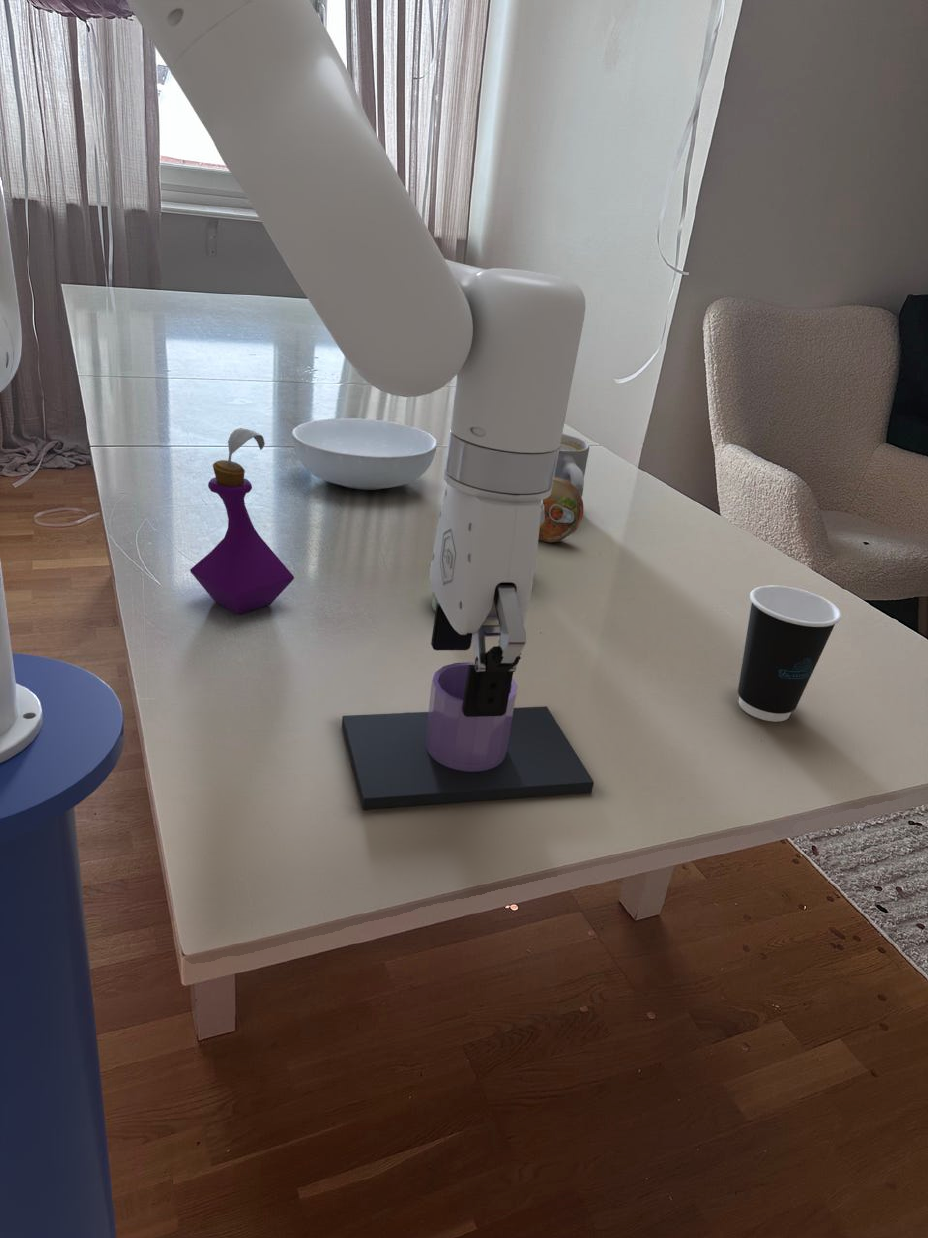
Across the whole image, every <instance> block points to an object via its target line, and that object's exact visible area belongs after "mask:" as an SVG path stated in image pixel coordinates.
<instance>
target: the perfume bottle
mask: <svg viewBox="0 0 928 1238" xmlns="http://www.w3.org/2000/svg"><path fill="white" fill-rule="evenodd" d="M251 439H254V440H255V441H256V443H257V445H258V448H259V451H262V450H263V449H264V447H265V445H266V444H265V440H264V436H263V435H262V434H260V433H259V432H257V431H256V430H253V429H248V428H244V427H243V428H242V427H238V428H236V429H234V430H233V431H232V432H231V433H230V435H229V438H228V440H227V446H228V459H227V460H225V459H220V460H217V461H215V462H214V463H212V468H213V473H214V477H212V478H211V479H210V480H209V481H208V484H207V487H208V489H209V490H210V492H211V493H214V494H217V495H218V496H219V497H220V499H221V501H222V502H223V504H224V507H225V510H226V514H227V519H228V520H227V521H228V522H227V529H226V533H225V535H224V537H223V538H222V539H221V540H220V541H219V542H218V543H217V545H216V546H214V548H213V549H212V550H211V551H210V552H209V553H208V554H207V555H205V556H204V557H203V558H202V559H201V560H200V561H198V562H197V563H196V564H195V565H193V566H192V567H191V568H190V569H189V571H190V573H191V574H192V576H193V577H194V578H195V579H196V580H197V582H198V583H199V584H200V586H201V587H202V588H203V589H204V590H205V592H206V593H207V594H208V595H209V596H210V598H211V599H212V600H213V601H214V602H215V603H216V604H218V605H221V606H222V607H224V608H226V609H227V610H229V611H231V612H233V613H234V614H235V615H242V614H245V613H248V612H251V611H254V610H258V609H260V608H264V607H268V606H270V605H271V604H272V603H274V601H275V600H276V599H277V598H278V597H279V596H280V595H281V594H282V593H283V592H284V591H285V589H286V588H287V587H288V586H289V585H290V584H291V583H292V582H293V581H294V579H295V576H294V575H293V573H292V572H291V571H290V570H289V569H288V568H287V567H286V565H285V564H284V563H283V562H282V560H280V558H279V557H278V556H277V555H276V554H275V552H274V551H273V550H272V549H271V547H270V546H269V545H268V544H267V542H265V540H264V539H263V538H262V537H261V536H260V534H259V533H258V531H257V530H256V528H255V527H254V524H253V521H252V519H251V517H250V515H249V511H248V509H247V507H246V503H245V497H246V494H248V493H250V492H251V490H252V489H253V486H252V483H251V482H250V481H249V479H247V478H245V474H246V471H245V469H244V468H243V466H242V465H241V464H239V463H238V462H235V461H232V454H234V453H235V452H236V451H237V450H238V449H240V448H241V447H242V446H243V445H245V444H246V443H247V442H248V441H250V440H251Z"/></svg>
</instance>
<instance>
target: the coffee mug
mask: <svg viewBox="0 0 928 1238" xmlns="http://www.w3.org/2000/svg"><path fill="white" fill-rule="evenodd" d="M589 452H590V444H589V443H588V442H587V441H585V440H584V439H583V438H579V437H577V436H573V435H571V434H567V433H562V438H561V443H560V447H559V453H558V459H557V464H556V469H555V475H554V477H558V478H562V479H565V480H567V481H568V482H570V483H571V484H573V485H574V486H575V487H576V489H577V490H578V492H579V493H580V495H581V498H583V493H584V486H585V475H586V470H587V469H586V468H587V463H588V458H589Z"/></svg>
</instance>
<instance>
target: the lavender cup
mask: <svg viewBox="0 0 928 1238" xmlns="http://www.w3.org/2000/svg"><path fill="white" fill-rule="evenodd" d="M469 665H474V661H473V662H472V661H470V662H469V661H467V662H466V661H465V662H454V663H450V664H446V665H443V666H442V667H441V668H439V669H438V670H436V671H435V672H434V674H433V677H432V679H431V686H430V695H429V704H428V712H429V713H428V722H427V731H426V749H427V751H428V753H429V754H430V756H431V757H432V758H433V759H434V760H436V761H437V762H439V763H440V764H442V765H444V766H446V767H449V768H452V769H455V770H460V771H467V772H478V771H485V770H489V769H492V768H494V767H496V766H498V765H499V764H501V763H502V762H503V760H504V759H505V757H506V754H507V748H508V741H509V735H510V729H511V723H512V717H513V710H514V708H515V704H516V696H517V692H518V691H517V690H518V685H517V683H516V681H515V679H514V678H513V677H512V682H511V688H510V693H509V698H508V704H507V709H506V713H505V714H504V715H502V716H485V717H466V716H465V715H464V714H463V712H462V704H463V698H464V692H465V686H466V679H467V673H468V667H469Z"/></svg>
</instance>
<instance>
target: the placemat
mask: <svg viewBox="0 0 928 1238" xmlns="http://www.w3.org/2000/svg"><path fill="white" fill-rule="evenodd" d="M428 713H429V711H416V712H396V713H395V712H393V713H371V714H353V715H342V717H341V727H342V731H343V735H344V739H345V743H346V747H347V751H348V755H349V760H350V763H351V767H352V772H353V775H354V779H355V784H356V787H357V791H358V795H359V798H360V803H361V807H362V810H374V809H387V808H401V807H412V806H413V807H414V806H415V807H416V806H426V805H427V806H428V805H438V804H439V805H441V804H453V803H467V802H479V801H493V800H505V799H518V798H519V799H520V798H521V799H522V798H533V797H546V796H558V795H571V794H572V795H573V794H585V793H586V794H587V793H593V790H594V784H595V781H594V779H593V778H592V776H591V775H590V773H589V772H588V770H587V769H586V767H585V765H584V764H583V762H582V760H581V759H580V758H579V756H578V754H577V753H576V751H575V749H574V748H573V746H572V745H571V743H570V741H569V740H568V738H567V736H566V735H565V733H564V731H563V730H562V729H561V726H560V725H559V724H558V722H557V721H556V718H555V717H554V716H553V714H552V713H551V711H550V709H549V708H548V706H544V705H543V706H525V707H524V706H523V707H514V710H513V717H512V723H511V729H510V735H509V741H508V748H507V754H506V757H505V759H504V760H503V762H502V763H501V764H499V765H498V766H496V767H494V768H492V769H489V770H485V771H478V772H467V771H460V770H455V769H452V768H449V767H446V766H444V765H442V764H440V763H439V762H437V761H436V760H434V759H433V758H432V757H431V756H430V754H429V753H428V751H427V749H426V731H427V722H428Z"/></svg>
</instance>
